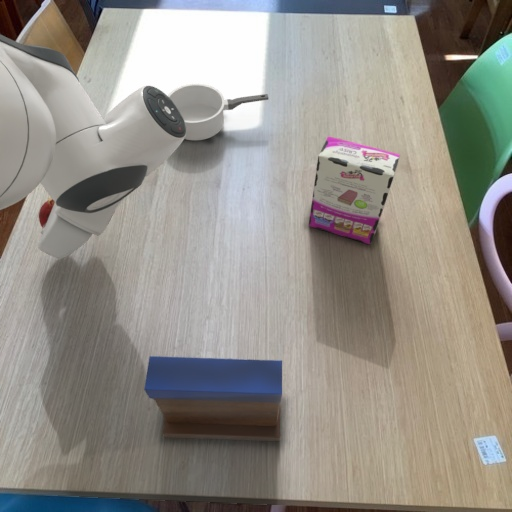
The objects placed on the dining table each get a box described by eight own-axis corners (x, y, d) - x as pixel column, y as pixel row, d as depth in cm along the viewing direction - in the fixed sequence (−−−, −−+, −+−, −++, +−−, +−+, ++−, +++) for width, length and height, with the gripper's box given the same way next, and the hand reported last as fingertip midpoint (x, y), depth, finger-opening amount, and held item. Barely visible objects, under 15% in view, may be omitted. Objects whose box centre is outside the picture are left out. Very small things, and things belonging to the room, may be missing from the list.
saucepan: (272, 137, 94) (273, 114, 89) (170, 148, 92) (165, 125, 87) (263, 100, 100) (263, 77, 95) (167, 109, 98) (163, 86, 94)
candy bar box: (378, 224, 82) (402, 153, 68) (371, 246, 79) (395, 177, 65) (315, 205, 84) (327, 133, 70) (306, 226, 81) (317, 155, 68)
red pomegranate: (73, 250, 75) (55, 219, 69) (41, 240, 76) (21, 209, 70) (91, 222, 78) (76, 190, 72) (61, 213, 79) (43, 181, 73)
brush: (279, 441, 62) (287, 401, 48) (164, 437, 62) (137, 396, 48) (279, 402, 64) (286, 354, 50) (169, 399, 65) (145, 349, 51)
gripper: (97, 109, 69) (55, 155, 78) (55, 218, 58) (10, 259, 66) (134, 134, 73) (89, 176, 81) (101, 242, 61) (53, 277, 70)
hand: (53, 214), depth 74 cm, fingers closed on red pomegranate, 6 cm apart
